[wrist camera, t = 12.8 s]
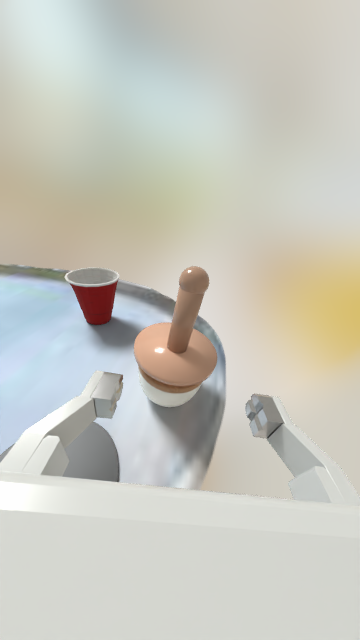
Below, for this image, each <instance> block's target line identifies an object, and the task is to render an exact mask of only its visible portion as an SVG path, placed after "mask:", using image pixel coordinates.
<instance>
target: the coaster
mask: <svg viewBox="0 0 360 640" xmlns="http://www.w3.org/2000/svg"><path fill="white" fill-rule="evenodd" d="M13 446H14V444H13V445H12V446H11V447H9V448H8V449H7V450H6V451H5V452H3V453H2V454H1V455H0V463H1V461H2V460H3V459H4V457H5V456H6V455H7V454H8V452H9V451H10V450H11V448H12V447H13ZM64 450H65V452H66V454H67V456H68V458H69V463H68V465H67V467H66V469H65V471H64V473H63V476H62V477H70V478H80V479H91V480H101V481H111V482H117V480H118V456H117V451H116V448H115V445H114V442H113V440H112V438H111V436H110V435H109V434H108V432H107V431H106V430H105V429H104V428H103V427H102V426H100V425H99V424H97V423H95V422H92V423H91V424H90V425H89V426H88V427H87V428H86V429H85V430H84V431H83V432H82V433H81V434H79V435H78V436H77V437H76V438H75V439H74V440H73V441H72V442H71V443H70V444H69V445H68V446H67V447H66V448H65V449H64Z"/></svg>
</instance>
